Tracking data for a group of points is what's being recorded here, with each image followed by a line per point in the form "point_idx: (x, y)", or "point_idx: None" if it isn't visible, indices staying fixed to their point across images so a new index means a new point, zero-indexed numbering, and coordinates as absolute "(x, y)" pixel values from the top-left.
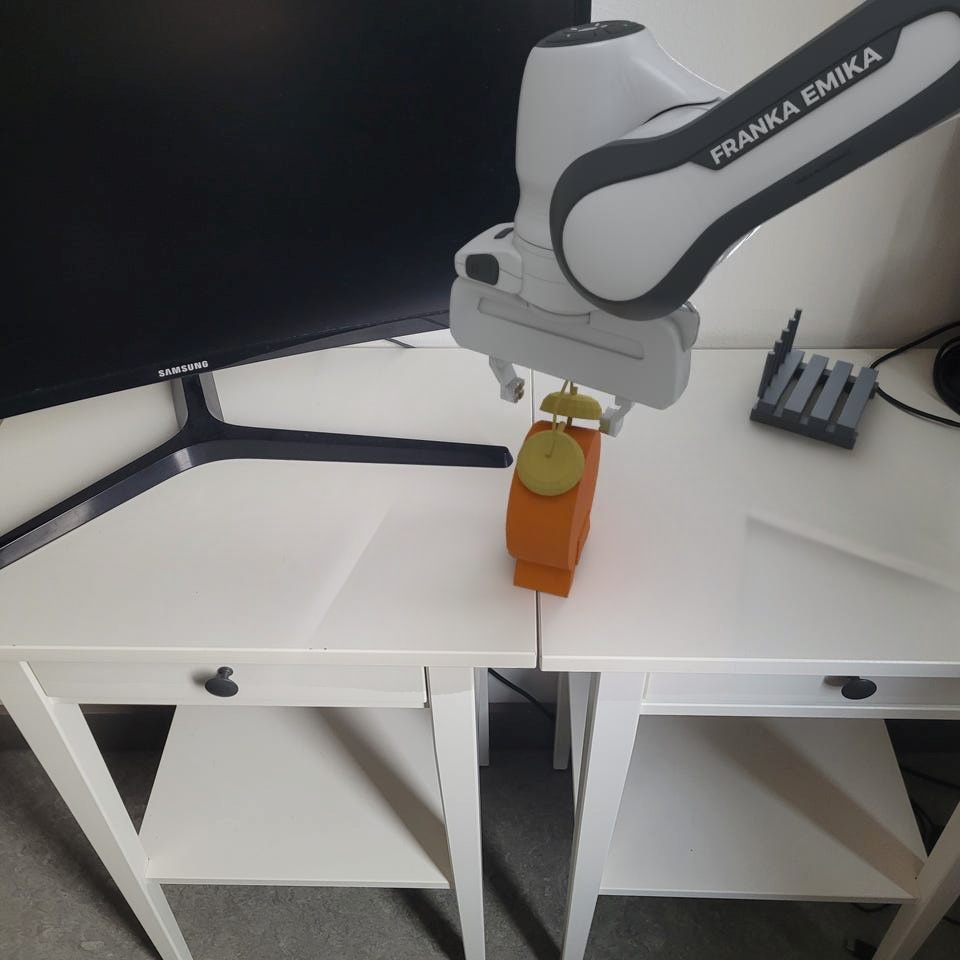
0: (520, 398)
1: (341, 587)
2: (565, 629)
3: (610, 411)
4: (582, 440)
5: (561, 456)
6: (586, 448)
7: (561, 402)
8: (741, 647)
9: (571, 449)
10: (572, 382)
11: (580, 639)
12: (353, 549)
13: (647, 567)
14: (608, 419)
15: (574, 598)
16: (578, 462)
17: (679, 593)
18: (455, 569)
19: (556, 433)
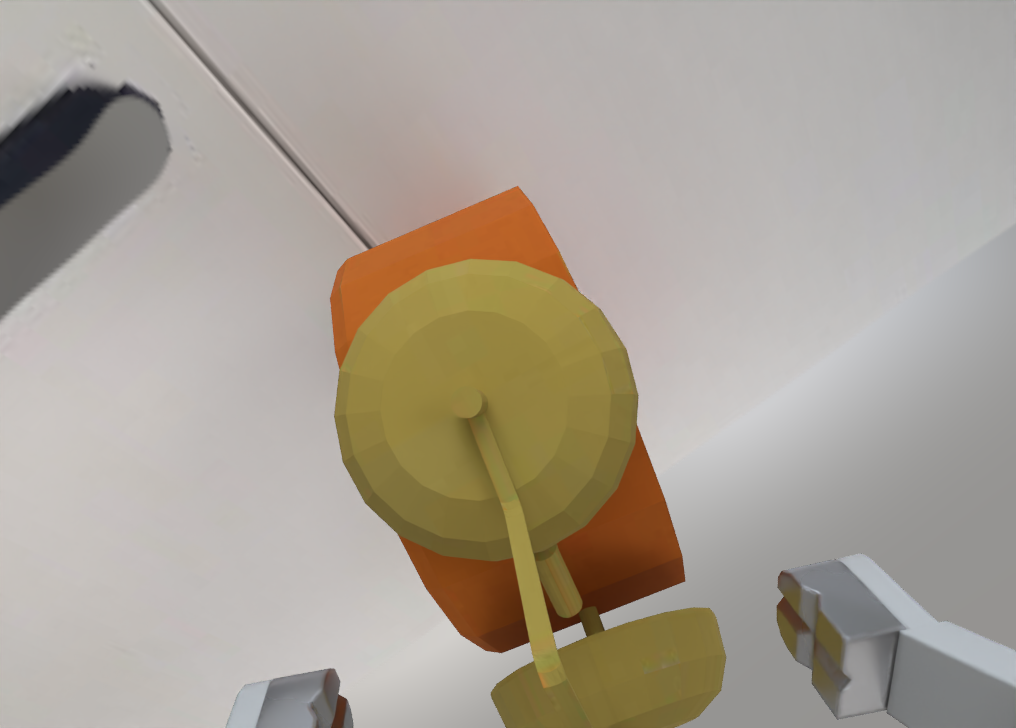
0: (338, 684)
1: (258, 624)
2: None
3: (868, 663)
4: (624, 499)
5: (678, 723)
6: (659, 520)
7: (500, 555)
8: (889, 293)
9: (700, 700)
10: (530, 568)
11: (648, 454)
12: (187, 566)
13: (672, 231)
14: (882, 710)
15: None
16: (722, 672)
17: (754, 252)
18: None
19: (625, 721)
